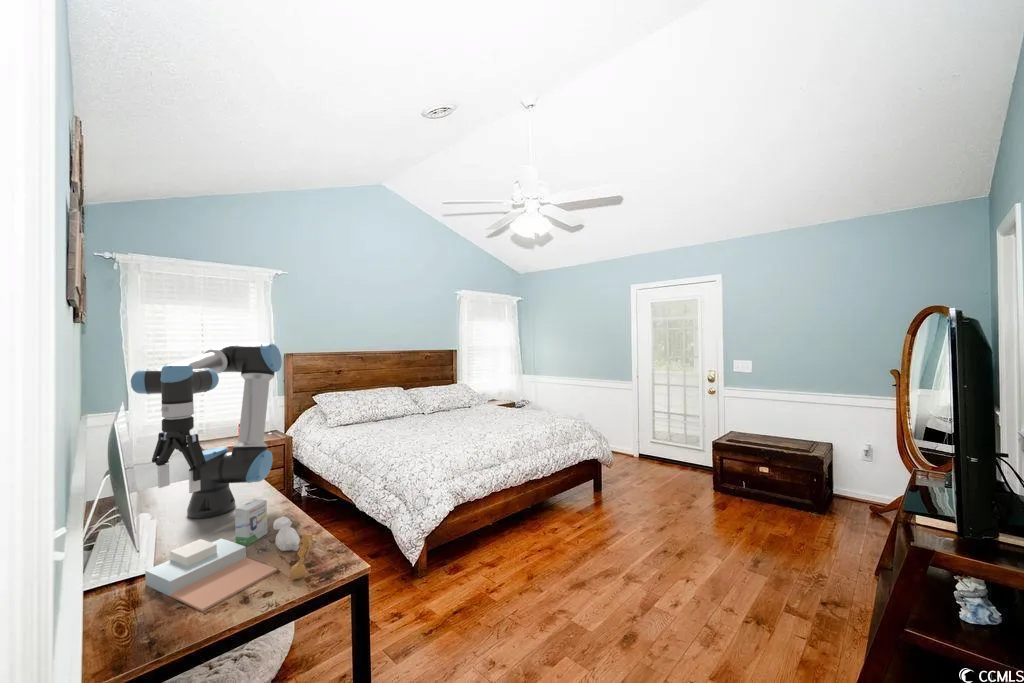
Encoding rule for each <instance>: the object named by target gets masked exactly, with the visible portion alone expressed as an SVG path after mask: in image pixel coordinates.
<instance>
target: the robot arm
mask: <svg viewBox="0 0 1024 683" xmlns="http://www.w3.org/2000/svg"><path fill="white" fill-rule="evenodd" d="M281 368H282V355H281V352H280V350H279V347H278V346H277V345H276V344H274V343H271V342H249V343H248V342H246V343H245V342H243V343H241V342H236V343H229V344H226V345H221V346H217V347H214V348H212V349H211V348H210V349H209V350H206V351H205V352H203V353H202V354H201V355H198V356H197V355H196V356H195V357H192V358H191V357H190V358H188V359H185V360H181V361H178V362H175V363H171V364H167V365H164V366H162V367H158V368H154V369H148V368H147V369H140V370H137V371H135V372H134V373H133V374H132V376H131V378H130V387H131V388H132V391H133V392H135V393H137V394H142V395H143V394H144V395H151V394H154V395H155V394H161V407H160V408H161V409H160V411H161V417H162V420H161V431H162V432H161V431H160V432H159V433H158V438H157V443H156V445H155V448H154V452H153V455H152V458H151V463H153V464H155V466H157V488H158V489H161V488H164V487H168V486H170V485H171V484H170V480H171V479H170V461H169V460H170V458H171V456H172V455H173V452H175V451H176V450H177V451H178V452H180V453H182V454H183V457H184V458H185V460H186V462H187V464H188V466H189V469H188V493H189V494H191V497H190V499H189V503H188V506H187V509H186V516H187V518H190V519H196V520H197V519H207V518H214V517H217V516H221V515H223V514H226V513H229V512H230V511H232V510H234V508H236V500H235V497H234V495H233V493H232V490H231V488H230V484H240V483H241V484H245V483H247V484H252V483H259V482H262V481H263V480H265V479H266V478H267V476H268V475H269V473H270V471H271V469H272V465H273V459H274V458H273V452H272V451H271V450H269V449H268V444H266V442H265V441H264V440H265V431H266V430H265V429H266V420H267V409H268V402H269V401H268V400H269V390H270V381H271V380H272V379H274V378H275V373H277V372H279V371H280V370H281ZM221 373H240V377H242V378H243V380H244V385H243V394H242V402H241V411H240V421H239V430H238V439H237V442H236V443H235V444H233V446H232V450H231V451H229V447H227V446H218V447H213V448H209V449H206V450H202V446H201V444H200V441H199V434H198V433H195V434H194V433H193V434H190V433H191V430H193V429H194V426H195V425H194V423H195V422H194V421H195V420H194V417H193V415H194V412H195V411H194V394H199V393H201V394H202V393H206V392H207V393H208V392H209V391H211V390H214V389H215V388H216V387H217V386H218V384H219V380H220V379H219V375H218V374H221Z"/></svg>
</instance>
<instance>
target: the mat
mask: <svg viewBox="0 0 1024 683" xmlns="http://www.w3.org/2000/svg"><path fill="white" fill-rule="evenodd" d="M276 572H278V568H276V567H274V566H271V565H268V564H264V563H261V562H259V561H256V560H253V559H252V558H248V557H246V558H245V559H243V560H241V561H238V562H236V563H234V564H232V565H230V566H228V567H226V568H224V569H222V570H220V571H218V572H216V573H214V574H212V575H210V576H207V577H205V578H203V579H201V580H199V581H197V582H195V583H193V584H191V585H189V586H187V587H185V588H183V589H181V590H178V591H176V592H174V593H172V594H170V595H171V598H172V599H175V600H177V601H179V602H182V603H183V604H185V605H188V606H190V607H192V608H193V609H195V610H198V611H200V612H204V611H206V610H208V609H210V608H212V607H214V606H216V605H217V604H219V603H221V602H222V601H225V600H226V599H229V598H230V597H232V596H235V595H236V594H237V593H239V592H241V591H243V590H245V589H247V588H249V587H250V586H252V585H255V584H256V583H258V582H259V581H262V580H263V579H265V578H267V577H268V576H271V575H272V574H274V573H276Z"/></svg>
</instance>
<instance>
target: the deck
mask: <svg viewBox="0 0 1024 683" xmlns="http://www.w3.org/2000/svg"><path fill="white" fill-rule="evenodd" d="M211 543H214V544H217V553H216V554H214V555H211V556H209V557H207V558H205V559H202V560H200V561H198V562H196V563H193V564H191V565H189V566H184V565H182V564H179V563H177V562H174V561H172V560H167V561H165V562H162V563H160V564H158V565H155V566H153V567H150V568H148V569H145V571H144V572H145V573H144V574H145V585H146V586H147V587H149V588H151V589H154V590H156V591H157V592H160V593H162V594H164V595H166V596H168V597H171V595H170V594H172V593H174V592H176V591H178V590H181V589H183V588H185V587H187V586H189V585H191V584H193V583H195V582H197V581H199V580H201V579H203V578H205V577H207V576H210V575H212V574H214V573H216V572H218V571H220V570H222V569H224V568H226V567H228V566H230V565H232V564H234V563H236V562H238V561H241V560H243V559H245V558H247V547H246V545H240V544H237V543H235V542H233V541H231V540H227V539H224V538H222V537H221V538H219V539H216V540H214V541H212V542H211ZM171 598H172V597H171Z"/></svg>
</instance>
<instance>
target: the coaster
mask: <svg viewBox="0 0 1024 683" xmlns="http://www.w3.org/2000/svg"><path fill="white" fill-rule="evenodd" d="M216 553H217V544H214V543H212V542H211V541H207V540H204V539H202V538H199V539H196V540H194V541H192V542H190V543H187V544H183V545H182V546H180V547H177V548H175V549H172V550H170V551H169V554H170V556H169V557H170V560H172V561H174V562H177V563H179V564H182V565H184V566H189V565H191V564H193V563H196V562H198V561H200V560H202V559H205V558H207V557H209V556H211V555H214V554H216Z"/></svg>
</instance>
